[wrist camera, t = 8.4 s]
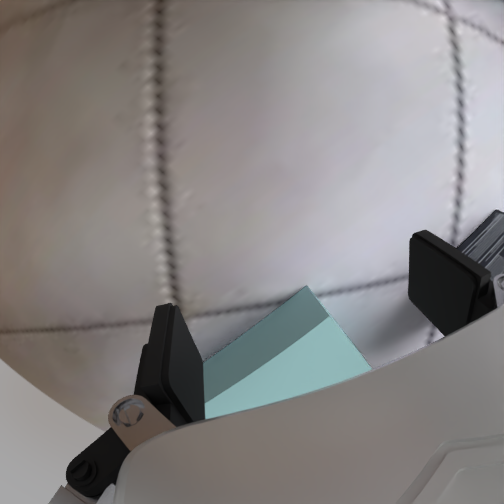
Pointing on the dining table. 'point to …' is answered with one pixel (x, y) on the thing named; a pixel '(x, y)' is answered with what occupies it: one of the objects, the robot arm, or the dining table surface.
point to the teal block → (281, 358)
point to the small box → (487, 244)
